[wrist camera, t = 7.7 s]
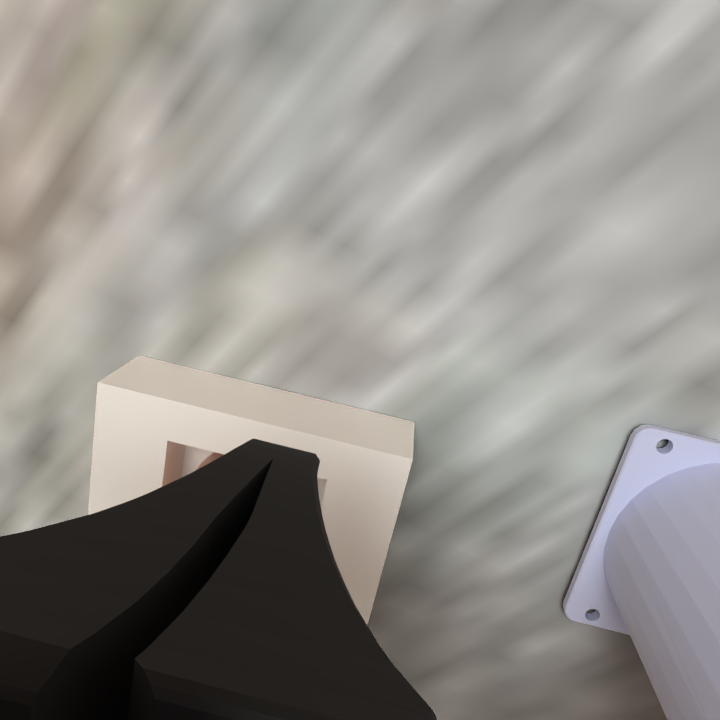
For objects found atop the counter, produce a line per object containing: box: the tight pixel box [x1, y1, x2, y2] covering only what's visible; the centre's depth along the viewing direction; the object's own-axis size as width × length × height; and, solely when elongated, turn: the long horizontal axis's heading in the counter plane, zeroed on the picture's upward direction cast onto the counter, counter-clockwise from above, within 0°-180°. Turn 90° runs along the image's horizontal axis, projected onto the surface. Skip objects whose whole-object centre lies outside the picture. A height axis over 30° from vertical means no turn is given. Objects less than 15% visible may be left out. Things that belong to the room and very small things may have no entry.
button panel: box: [88, 355, 415, 625], centre depth 23 cm, size 10×24×3 cm, turn 168°
